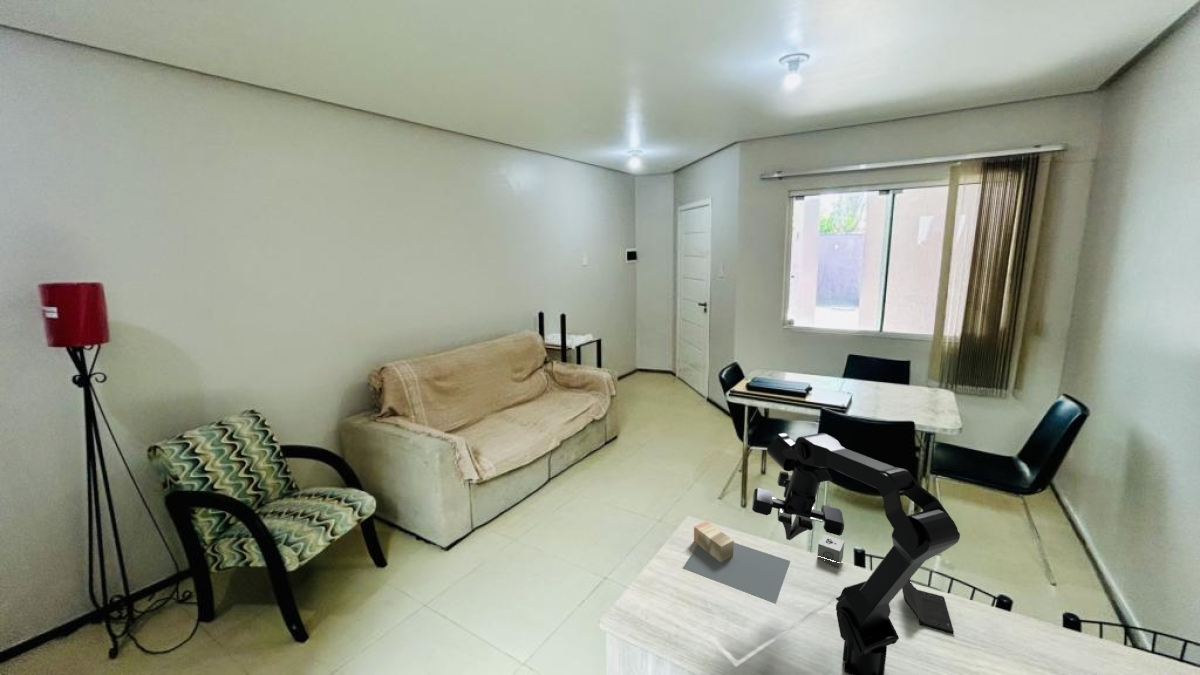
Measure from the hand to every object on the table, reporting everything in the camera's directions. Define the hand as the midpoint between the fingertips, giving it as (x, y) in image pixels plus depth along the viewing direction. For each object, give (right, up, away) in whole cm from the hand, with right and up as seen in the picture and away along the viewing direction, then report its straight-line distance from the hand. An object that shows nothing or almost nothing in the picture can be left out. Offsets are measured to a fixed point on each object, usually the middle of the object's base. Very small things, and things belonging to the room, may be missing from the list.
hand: (788, 538), depth 108 cm
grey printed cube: (+16, -11, +12) cm, 23 cm away
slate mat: (-9, -12, +10) cm, 18 cm away
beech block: (-11, -8, +12) cm, 18 cm away
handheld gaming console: (+28, -14, -4) cm, 32 cm away
